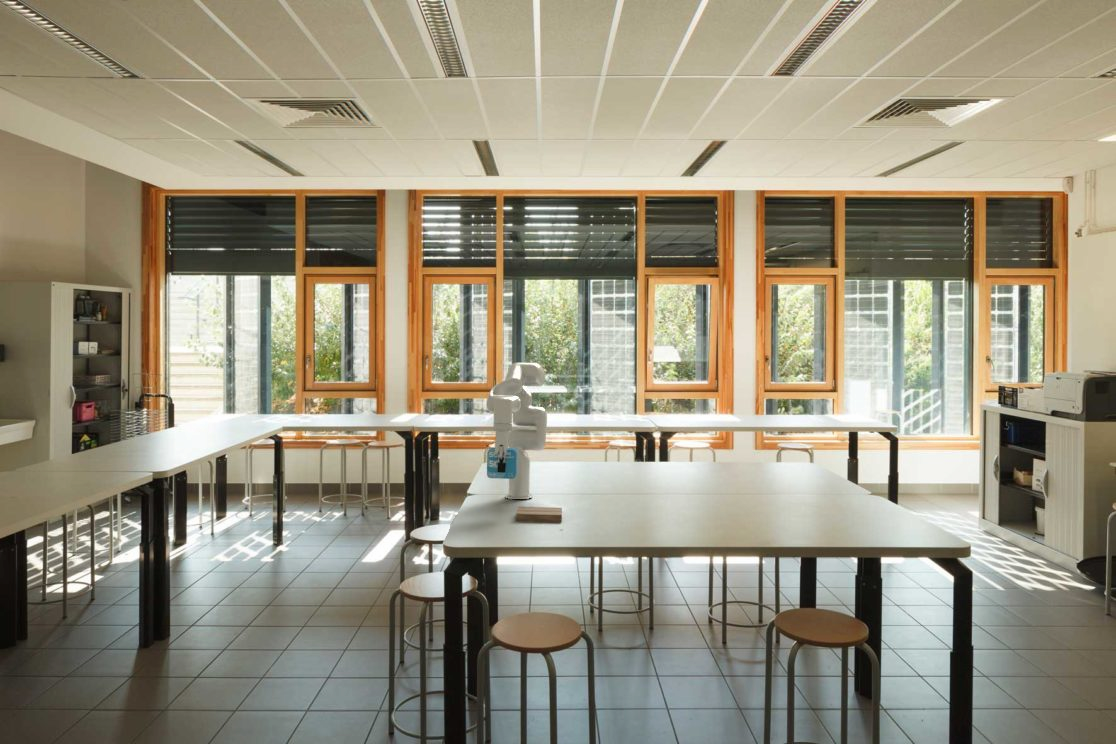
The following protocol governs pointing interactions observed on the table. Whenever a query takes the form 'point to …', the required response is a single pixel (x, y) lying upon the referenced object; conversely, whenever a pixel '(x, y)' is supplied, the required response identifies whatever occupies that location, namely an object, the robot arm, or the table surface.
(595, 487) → the table surface
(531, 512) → the base plate
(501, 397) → the robot arm
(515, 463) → the data package
